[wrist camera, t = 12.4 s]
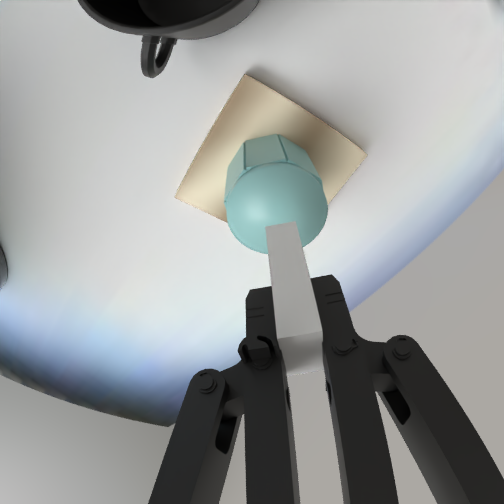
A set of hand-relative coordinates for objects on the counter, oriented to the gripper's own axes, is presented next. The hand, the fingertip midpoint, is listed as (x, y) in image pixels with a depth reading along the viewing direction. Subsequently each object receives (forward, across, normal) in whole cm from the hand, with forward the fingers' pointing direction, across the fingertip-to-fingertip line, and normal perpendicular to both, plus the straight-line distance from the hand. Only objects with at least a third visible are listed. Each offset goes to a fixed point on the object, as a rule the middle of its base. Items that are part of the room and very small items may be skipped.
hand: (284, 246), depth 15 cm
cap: (+9, 0, 0) cm, 9 cm away
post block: (+10, 0, 0) cm, 10 cm away
